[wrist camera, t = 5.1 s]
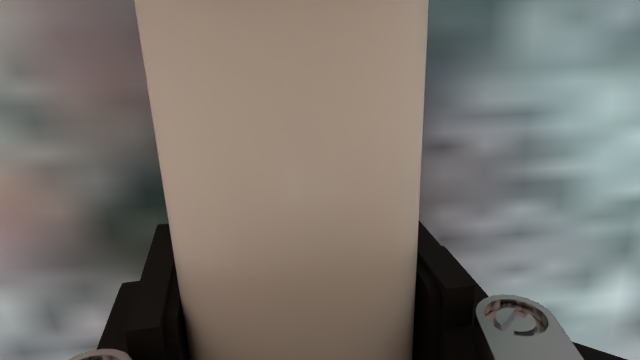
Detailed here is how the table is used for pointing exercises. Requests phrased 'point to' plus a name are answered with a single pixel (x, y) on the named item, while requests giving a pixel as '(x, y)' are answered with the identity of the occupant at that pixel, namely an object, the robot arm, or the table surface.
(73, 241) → the table surface
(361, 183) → the tube
